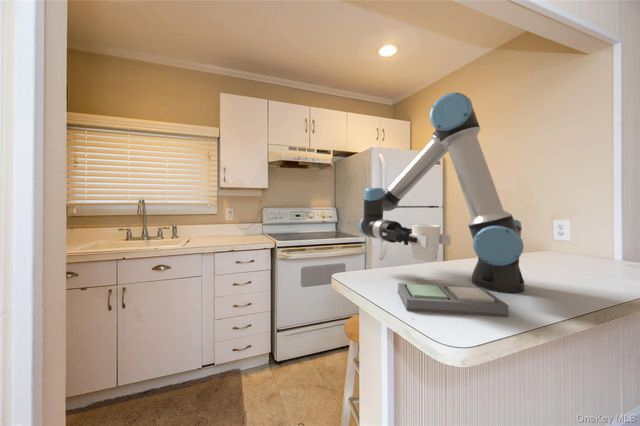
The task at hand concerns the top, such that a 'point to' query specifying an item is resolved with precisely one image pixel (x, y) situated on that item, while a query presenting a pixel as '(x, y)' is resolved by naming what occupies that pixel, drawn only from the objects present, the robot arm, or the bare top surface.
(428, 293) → the sage key
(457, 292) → the white square tile
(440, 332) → the top surface
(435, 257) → the white cup
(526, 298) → the top surface
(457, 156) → the robot arm
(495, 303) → the grey divided tray
